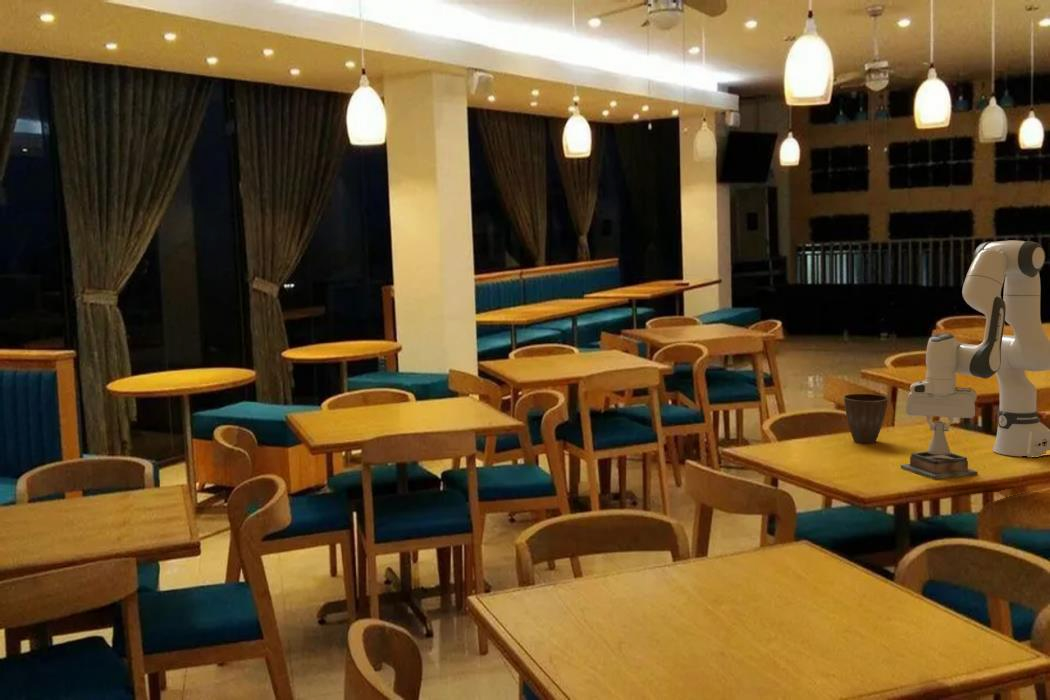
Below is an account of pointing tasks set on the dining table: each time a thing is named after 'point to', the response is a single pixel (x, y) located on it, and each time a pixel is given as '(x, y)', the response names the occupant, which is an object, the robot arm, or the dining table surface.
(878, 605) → the dining table surface
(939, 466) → the walnut plinth
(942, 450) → the flask
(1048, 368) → the robot arm
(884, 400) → the plant pot
